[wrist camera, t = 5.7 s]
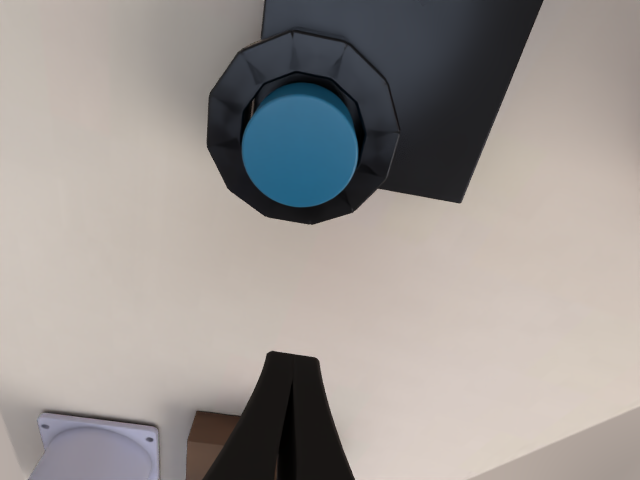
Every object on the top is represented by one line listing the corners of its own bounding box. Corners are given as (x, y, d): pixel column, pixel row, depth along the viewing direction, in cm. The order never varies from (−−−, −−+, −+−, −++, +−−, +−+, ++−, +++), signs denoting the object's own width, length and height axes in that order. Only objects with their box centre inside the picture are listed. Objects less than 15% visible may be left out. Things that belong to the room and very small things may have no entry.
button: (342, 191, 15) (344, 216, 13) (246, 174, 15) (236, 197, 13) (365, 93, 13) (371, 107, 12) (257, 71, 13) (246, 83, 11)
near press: (438, 207, 20) (463, 252, 16) (225, 169, 19) (202, 207, 15) (612, -254, 12) (730, -357, 8) (264, -354, 11) (236, -516, 8)
